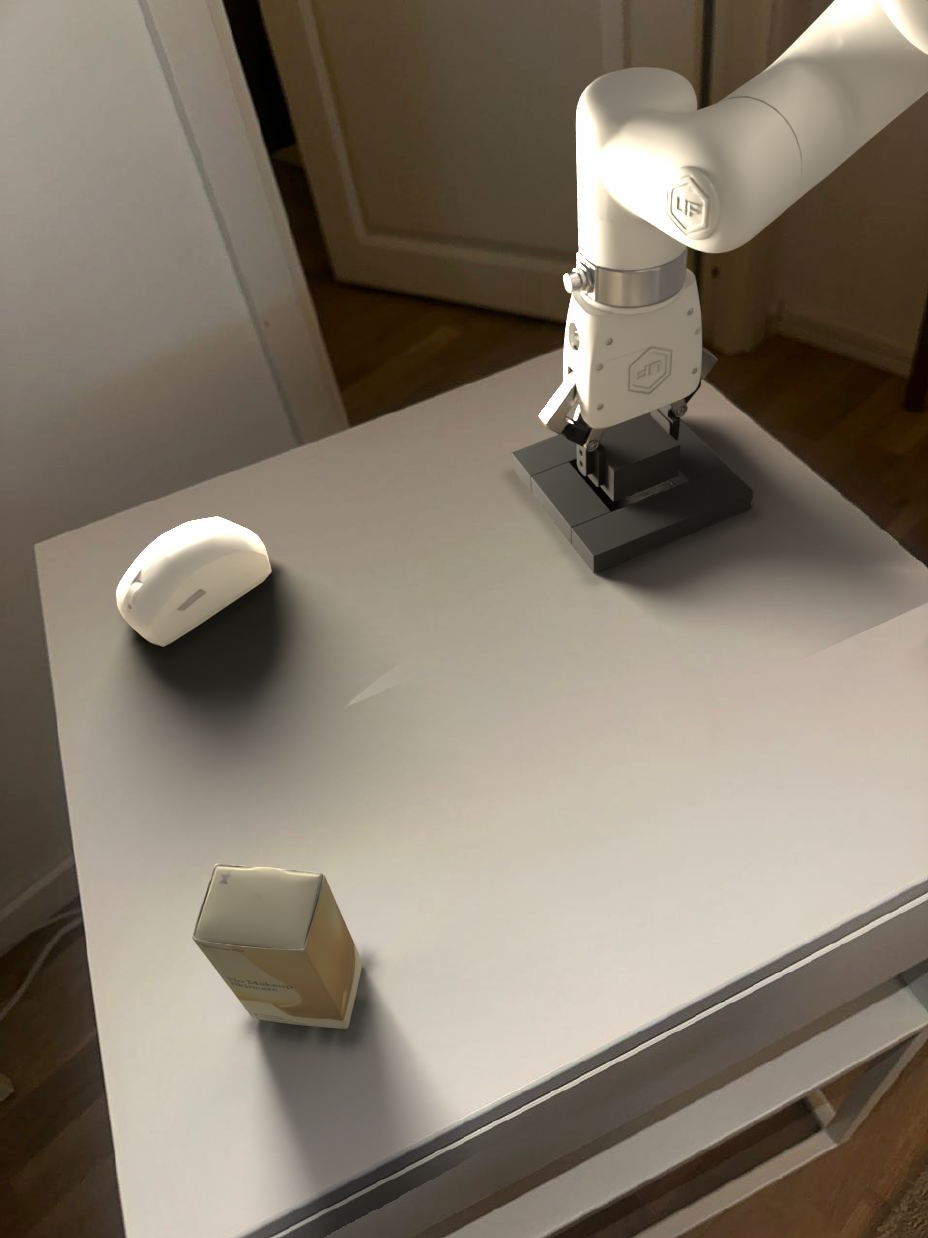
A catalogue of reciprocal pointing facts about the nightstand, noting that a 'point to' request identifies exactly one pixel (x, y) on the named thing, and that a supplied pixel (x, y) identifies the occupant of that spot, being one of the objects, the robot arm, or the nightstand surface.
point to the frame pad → (640, 526)
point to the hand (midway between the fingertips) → (627, 460)
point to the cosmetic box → (280, 944)
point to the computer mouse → (190, 577)
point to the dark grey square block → (637, 456)
